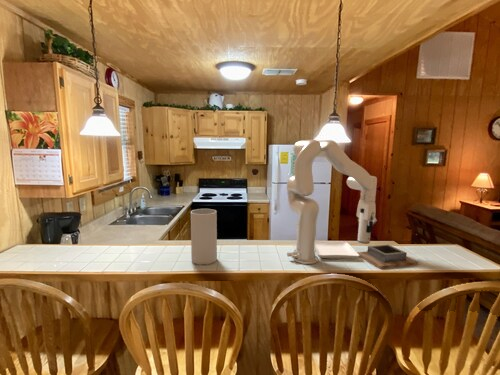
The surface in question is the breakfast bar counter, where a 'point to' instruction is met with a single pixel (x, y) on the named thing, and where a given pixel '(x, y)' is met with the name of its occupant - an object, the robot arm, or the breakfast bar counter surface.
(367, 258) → the walnut board
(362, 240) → the travel mug
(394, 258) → the metal collar
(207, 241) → the cylinder vase
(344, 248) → the salad plate
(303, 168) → the robot arm
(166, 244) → the breakfast bar counter surface
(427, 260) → the breakfast bar counter surface
